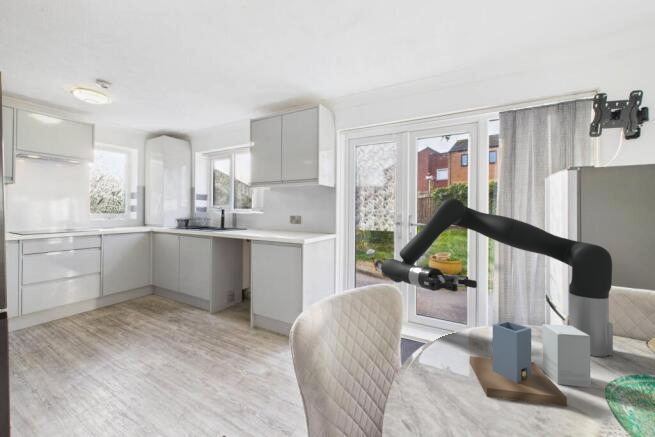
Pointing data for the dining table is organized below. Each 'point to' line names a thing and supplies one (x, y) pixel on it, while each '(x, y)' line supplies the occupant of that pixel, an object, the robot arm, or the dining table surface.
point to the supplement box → (566, 355)
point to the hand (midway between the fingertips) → (466, 286)
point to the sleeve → (511, 350)
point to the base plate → (517, 384)
